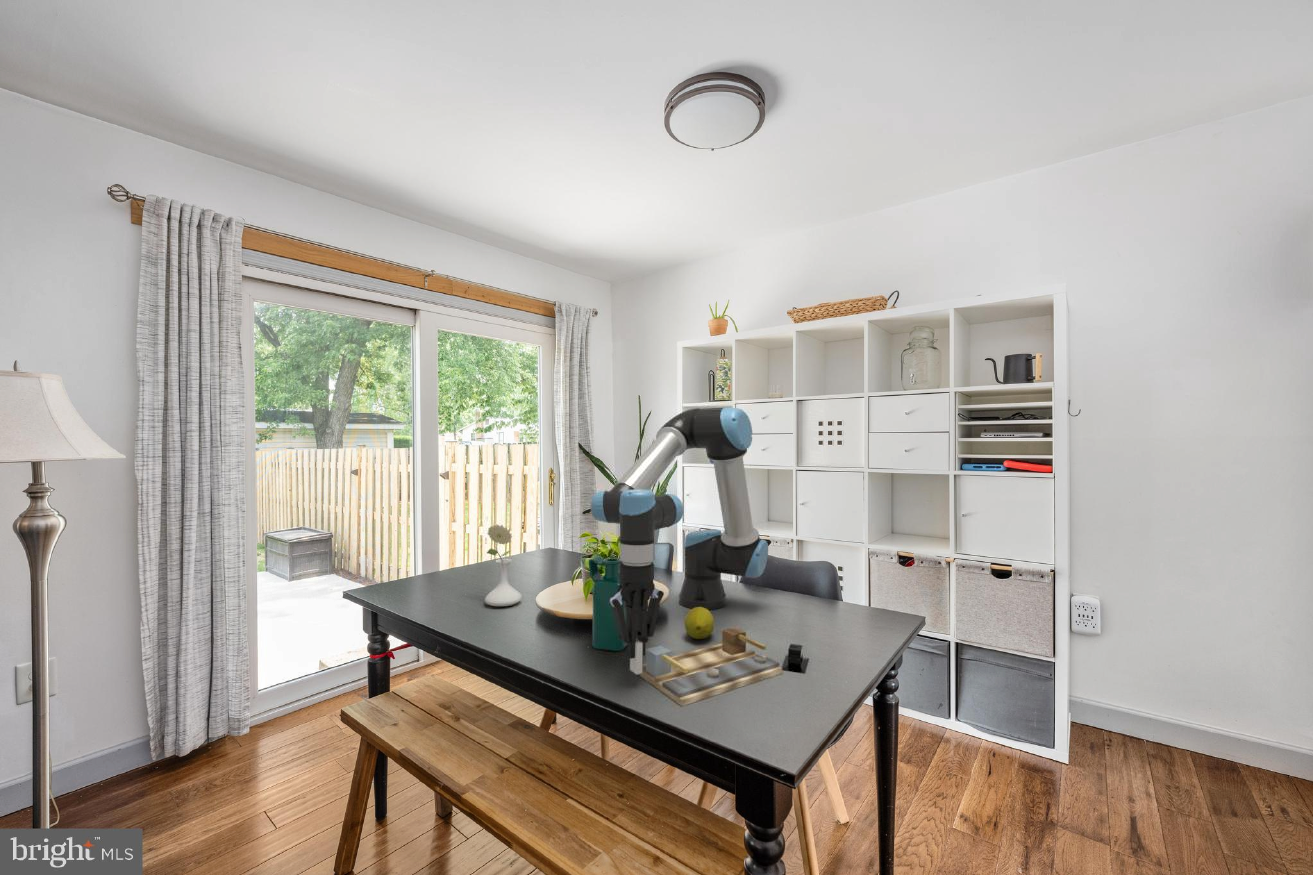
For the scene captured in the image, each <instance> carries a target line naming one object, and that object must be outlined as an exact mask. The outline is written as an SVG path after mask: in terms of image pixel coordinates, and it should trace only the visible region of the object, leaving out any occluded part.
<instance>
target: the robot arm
mask: <svg viewBox="0 0 1313 875" xmlns="http://www.w3.org/2000/svg"><path fill="white" fill-rule="evenodd" d="M752 428H753V427H752V423H751V420H750V417H749V416H748V414H747V413H746V412H745V411H744V410H743V409H741V408H738V407H729V406H726V407H725V406H724V407H707V408H706V407H705V408H704V407H703V408H698V407H697V408H691V409H688V410H684V411H683V412H680V413H678V414H677V415H675V416H674V417H672V418H671V419H669V420H668V421H667V422H666V423H664V424H663V425H662V426H661V427H660V428H659V430H658V431H657V433H656V435H655V439H654V440H653V442H652V443H651V444H650V445H649V447H647V449H646V450H645V451H644V452H643V453H642V454H641V455H640V456H639V458H638V459H637V460H636V461H635V462H634V463H633V464H632V465H631V467H630V468H629V469H628V470H627V471H626V472H625V474H624V475H623V476H622V477H621V478H620V479H619V480H618V481H617V483H615V485H614V486H613V487H612V488H611V489H610V490H609V491H608V490H600V491H598V492H596V493H594V495H593V496H592V499H591V501H590V512H591V514H592V517H593V518H594V519H595V520H596V521H598V522H604V523H607V524H617V525H619V559H620V561H621V563H620V564H619V579H620V586H619V588H618V593H617V594H616V595H615V596H614V597H609V598H608V602H609V603H610V605H611V606H612V608H613V613H614V618H615V622H616V627H617V632H618V636H619V639H621V640H622V641H624V642H625V643H627V646H626V655H627V657H628V658H629V671H631V672H632V673H634V674H635V675H636V676H637V675H638V674H640V673H642V664H643V657H644V656H646V643H647V642H649V640H650V639H649V638H652V637H654V636H655V635H654V634H655V629H656V624H657V619H658V614H659V608H660V604H661V602H662V599H663V597H664V596H665V592H664V591H662V590H660V589H658V588H656V587H655V583H654V579H655V563H654V562H653V561H655V531H658V530H661V529H665V528H670V527H672V526H674V525H676V524H678V523H680V521H681V520H682V518H683V515H684V505H683V502H682V500H681V499H680V498H679V497H678V496H677V495H675V494H673V493H662V494H655V492H654V491H653V490H651V489H652V488H653V486H654V485H655V483H656V482H657V481H658V480H659V479H660V477H661V476H662V475H663V474H664V473H665V471H666V470H667V468H669V466H670V465H671V464H672V462H673V461H674V460H675V459H676V457H679V456H681V455H684V454H685V452H686V451H687V450H690V449H705V451H706V457H707V459H708V460H710V461H712V463H713V468H714V473H715V474H714V475H715V480H716V481H715V482H716V486H717V492H718V500H719V504H720V510H721V517H722V521H723V529H724V531H723V532H722V531H721V529H701V530H695V531H691V532H688V533H687V534H686V535H685V538H684V579H683V583H682V586H681V589H680V592H679V595H678V603H679V604H680V605H681V606H682V607H686V608H689V609H693V608H695V607H703V608H705V609H707V610H708V611H709V610H717V609H720V608H723V607H725V606H726V605H727V594H726V593H725V592H726V591H725V589H724V585H723V582H722V574H723V575H725V574H726V575H732V576H739V577H744V578H753V579H754V578H755V579H756V578H760V577H761V575H762V574H763V573H764V571H765V568H766V565H767V562H768V557H769V544H768V542H767V541H766V540H764V539H763V538H760V532H759V530H758V529H757V528H756V527H754V525H753V520H752V514H751V513H752V511H751V505H750V497H749V493H748V492H749V491H748V490H749V489H748V486H747V485H748V484H747V478H746V477H747V476H746V470H745V464H744V456H745V455H746V454H747V453H748V449H749V448H750V447H751V445H752V443H753V436H752V435H753V429H752ZM621 599H623V601H624V602H625V608H626V621H625V617H624V612H623V608H622V606H621V605H622V600H621Z"/></svg>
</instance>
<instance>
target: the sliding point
mask: <svg viewBox="0 0 1313 875" xmlns="http://www.w3.org/2000/svg"><path fill="white" fill-rule="evenodd" d="M671 657H672V651H671V650H669V649H668V648H666V646H665V647H664V646H663V645H658V646H654V647H649V648H645V663H646V671H647V672H649V673H650V674H651V675H653V676H654V677H657V676H660V675H664V674H667V673H671V665H673V666H674V667H676V668H678V669H679V670H681V671H682V672H684V673H687V672H688V668H687V667H685V666H684V665H682V664H680V663H679V662H677V661H675V660H674V659H672V658H671Z"/></svg>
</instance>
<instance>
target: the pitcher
mask: <svg viewBox="0 0 1313 875" xmlns="http://www.w3.org/2000/svg"><path fill="white" fill-rule="evenodd" d="M620 563H621V561H620V558H616V557H615V558H614V557H611V558H609V557H608V558H604V559H603V557H602V556H600V555H596V556H593V557H591V559H589V560H588V568H589V569H588V570H589V576H590V579H591V580H592V582H593V585H592V647H593V648H594V649H598V650H603V651H611V652H613V651H614V652H620V651H623V650H625V648H627V643H625V642H624V641H622V640H621V639H619V636H618V632H617V627H616V622H615V618H614V613H613V608H612V606H611V605H610V603H609V602H608V598H609V597H614V596H615V595H616V594H617V593H618V588H619V586H620V579H619V564H620ZM599 566H601V567H603V566H604V568H605V569H604V574H603V575H602V574H601V573H600V571H599ZM621 600H622V605H621V606H622V608H623V612H624V617H625V621H626V608H625V602H624V601H623V599H621Z"/></svg>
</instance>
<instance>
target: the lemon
mask: <svg viewBox="0 0 1313 875" xmlns="http://www.w3.org/2000/svg"><path fill="white" fill-rule="evenodd" d="M714 620H715V618H714V617H713V614H712V613H711V611H710V610H709V609H708V610H707V609H705V608H703V607H695V608H690V610H689V611H688V612H687V613H686V615H685V617H684V622H683V623H684V628H685V630H686V633H687V635H688V636H690V637H691V638H693V639H696V640H704V639H706V638H708V637H709V636H711V634H712V633H713V630H714V627H715V626H714V625H715V624H714V623H715V621H714Z"/></svg>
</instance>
